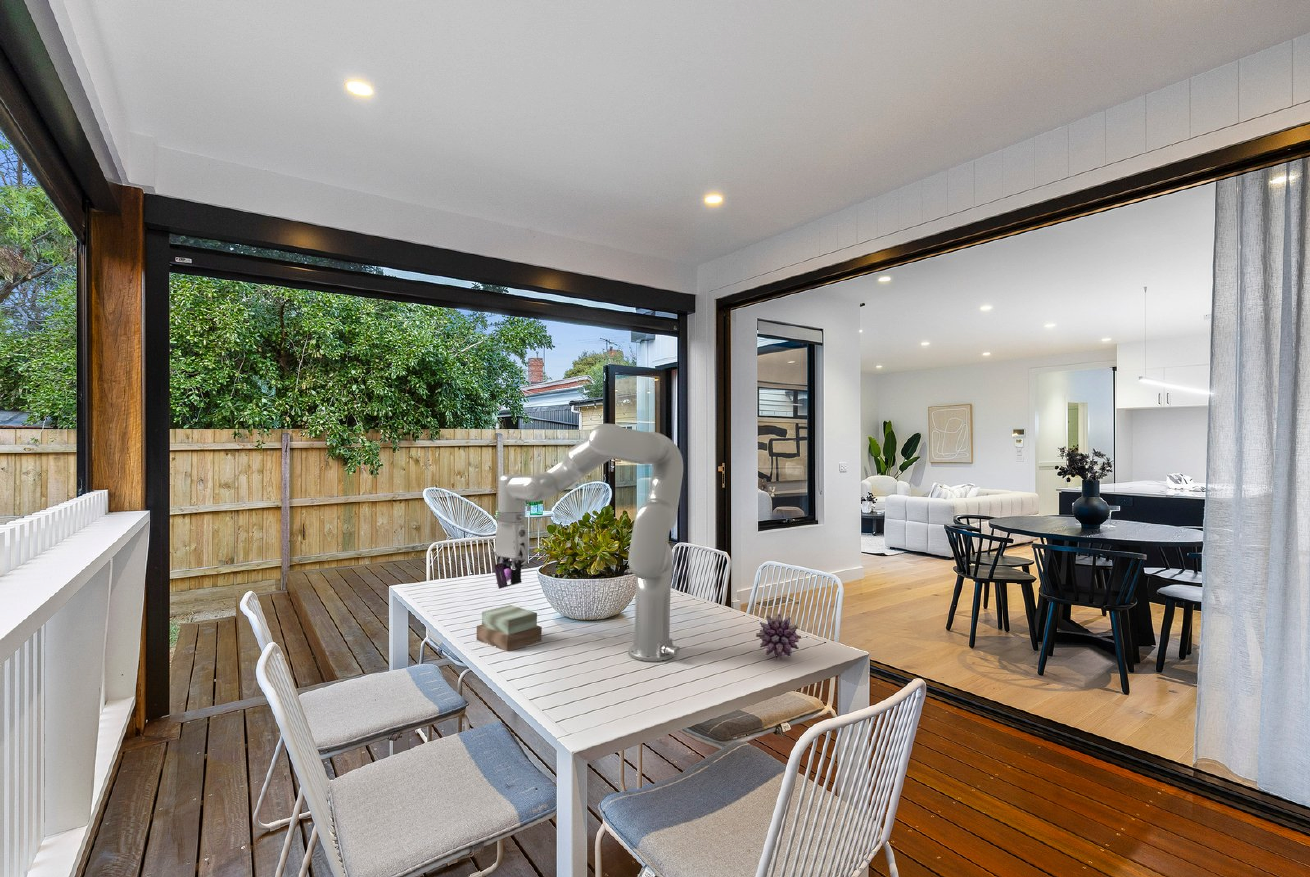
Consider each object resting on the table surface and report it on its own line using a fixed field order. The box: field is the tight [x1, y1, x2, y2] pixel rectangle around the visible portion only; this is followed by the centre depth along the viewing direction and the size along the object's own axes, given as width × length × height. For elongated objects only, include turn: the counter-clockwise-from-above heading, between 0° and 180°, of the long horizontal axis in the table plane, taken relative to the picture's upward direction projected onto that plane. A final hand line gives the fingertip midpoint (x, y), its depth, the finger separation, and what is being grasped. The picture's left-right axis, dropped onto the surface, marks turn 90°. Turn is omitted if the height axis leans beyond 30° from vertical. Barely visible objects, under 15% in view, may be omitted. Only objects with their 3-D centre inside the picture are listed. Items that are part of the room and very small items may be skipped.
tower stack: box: [476, 604, 543, 652], centre depth 180 cm, size 14×12×8 cm
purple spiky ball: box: [755, 613, 802, 660], centre depth 171 cm, size 12×12×12 cm
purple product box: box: [493, 560, 523, 590], centre depth 179 cm, size 7×5×9 cm
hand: (510, 581), depth 180 cm, fingers closed on purple product box, 3 cm apart
